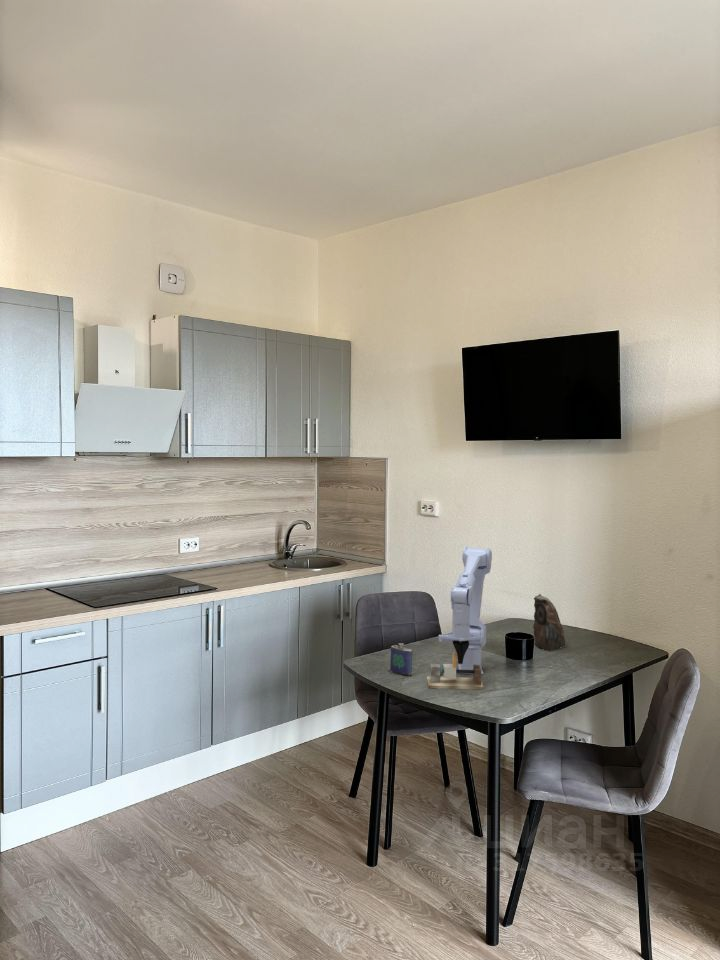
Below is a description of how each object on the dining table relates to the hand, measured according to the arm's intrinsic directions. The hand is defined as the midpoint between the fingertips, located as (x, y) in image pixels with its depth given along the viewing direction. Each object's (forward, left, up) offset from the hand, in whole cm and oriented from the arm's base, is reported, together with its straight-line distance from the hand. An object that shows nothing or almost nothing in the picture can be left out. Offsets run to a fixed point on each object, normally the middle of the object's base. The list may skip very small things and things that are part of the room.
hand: (460, 662), depth 245 cm
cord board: (0, -2, -7) cm, 8 cm away
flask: (-11, -20, -8) cm, 24 cm away
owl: (-49, +40, -8) cm, 64 cm away
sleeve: (0, -3, -5) cm, 6 cm away
